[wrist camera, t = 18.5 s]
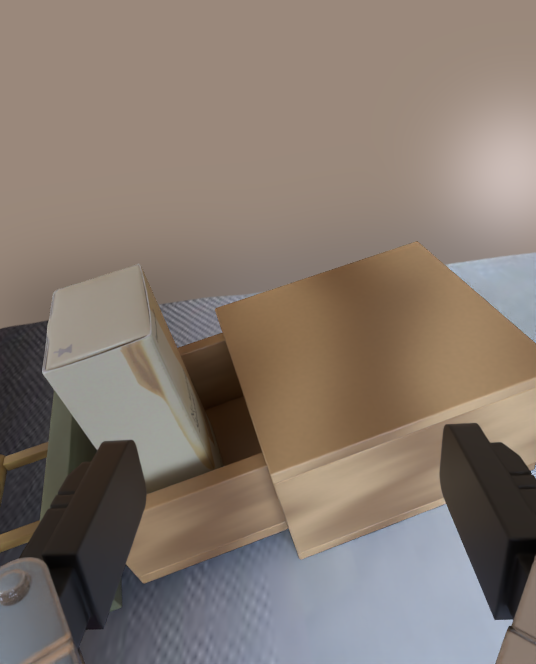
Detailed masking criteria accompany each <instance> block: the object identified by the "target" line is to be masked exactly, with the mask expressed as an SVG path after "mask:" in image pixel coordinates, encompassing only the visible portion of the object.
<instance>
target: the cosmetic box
mask: <svg viewBox="0 0 536 664" xmlns="http://www.w3.org/2000/svg"><path fill="white" fill-rule="evenodd" d="M42 373H43V375H44V376H45V377H46V379H47V380H48V381H49V383H50V384H51V386H52V387H53V389H54V390H55V392H56V393H57V394H58V396H59V397H60V399H61V400H62V401H63V403H64V404H65V406H66V407H67V408H68V410H69V411H70V413H71V414H72V416H73V417H74V418H75V420H76V421H77V423H78V424H79V425H80V427H81V428H82V430H83V431H84V433H85V434H86V435H87V437H88V438H89V440H90V441H91V442H92V444H93V445H94V447H95V448H96V449H97V450H98V448H99V447H100V445H101V443H102V442H104V441H115V440H133V441H134V442H135V444H136V447H137V451H138V455H139V459H140V463H141V467H142V471H143V475H144V479H145V483H146V492H147V494H149V493H152V492H155V491H158V490H160V489H163V488H166V487H169V486H171V485H174V484H177V483H180V482H182V481H185V480H188V479H191V478H193V477H196V476H199V475H202V474H204V473H207V472H210V471H213V470H215V469H218V468H221V467H224V466H223V462H222V458H221V455H220V451H219V448H218V445H217V442H216V438H215V435H214V432H213V429H212V426H211V423H210V421H209V419H208V417H207V414H206V412H205V410H204V407H203V405H202V403H201V401H200V398H199V396H198V394H197V392H196V390H195V388H194V385H193V383H192V381H191V378H190V376H189V374H188V372H187V369H186V367H185V365H184V363H183V360H182V358H181V356H180V354H179V351H178V349H177V347H176V344H175V342H174V340H173V338H172V335H171V333H170V331H169V328H168V326H167V324H166V322H165V319H164V317H163V315H162V313H161V310H160V308H159V306H158V304H157V301H156V299H155V297H154V295H153V292H152V290H151V287H150V285H149V283H148V281H147V278H146V276H145V274H144V272H143V269H142V267H141V265H140V264H137V265H133V266H131V267H128V268H125V269H121V270H118V271H116V272H112V273H109V274H106V275H102V276H99V277H97V278H93V279H90V280H87V281H84V282H80V283H77V284H74V285H71V286H68V287H64V288H61V289H58V290H56V291H55V292H54V293H53V297H52V304H51V310H50V318H49V322H48V326H47V340H46V347H45V356H44V362H43V369H42Z"/></svg>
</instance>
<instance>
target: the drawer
mask: <svg viewBox="0 0 536 664" xmlns="http://www.w3.org/2000/svg"><path fill="white" fill-rule="evenodd" d="M177 349H178V351H179V354H180V356H181V358H182V360H183V363H184V365H185V367H186V369H187V372H188V374H189V376H190V378H191V381H192V383H193V385H194V388H195V390H196V392H197V394H198V396H199V398H200V401H201V403H202V405H203V407H204V410H205V412H206V414H207V417H208V419H209V421H210V423H211V426H212V429H213V432H214V435H215V438H216V442H217V445H218V448H219V451H220V455H221V458H222V462H223V466H224V467H221V468H218V469H215V470H213V471H210V472H207V473H204V474H202V475H199V476H196V477H193V478H191V479H188V480H185V481H182V482H180V483H177V484H174V485H171V486H169V487H166V488H163V489H160V490H158V491H155V492H152V493H149V494H147V495H146V505H145V509H144V512H143V515H142V518H141V521H140V524H139V527H138V530H137V533H136V535H135V538H134V541H133V544H132V547H131V550H130V553H129V556H128V559H127V562H126V565H127V566H128V567H129V568H130V569H131V570H132V572H133V573H134V574H135V575H136V576H137V577H138V578H139V579H140V580H141V582H142V583H147V582H150V581H152V580H155V579H158V578H160V577H163V576H166V575H168V574H171V573H173V572H176V571H179V570H181V569H184V568H187V567H189V566H192V565H195V564H197V563H200V562H202V561H205V560H208V559H210V558H213V557H216V556H218V555H221V554H223V553H226V552H229V551H231V550H234V549H237V548H239V547H242V546H245V545H247V544H250V543H252V542H255V541H258V540H260V539H263V538H266V537H268V536H271V535H273V534H276V533H279V532H281V531H284V530H287V529H289V528H288V525H287V522H286V519H285V516H284V513H283V510H282V508H281V505H280V502H279V499H278V496H277V493H276V491H275V488H274V485H273V482H272V479H271V476H270V473H269V470H268V467H267V464H266V461H265V458H264V455H263V452H262V449H261V446H260V443H259V440H258V437H257V434H256V431H255V428H254V425H253V422H252V419H251V416H250V413H249V410H248V407H247V404H246V401H245V398H244V395H243V392H242V389H241V386H240V383H239V380H238V377H237V374H236V371H235V368H234V366H233V363H232V360H231V357H230V354H229V351H228V348H227V345H226V342H225V339H224V336H223V333H220V334H217V335H214V336H211V337H208V338H205V339H202V340H199V341H197V342H194V343H191V344H188V345H185V346H182V347H179V348H177ZM96 452H97V449H96V448H95V447H94V445H93V444H92V442H91V441H90V440H89V438H88V437H87V435H86V434H85V433H84V431H83V430H82V428H81V427H80V425H79V424H78V423H77V421H76V420H75V418H74V417H73V416H72V414H71V413H70V411H69V410H68V408H67V407H66V406H65V404H64V403H63V401H62V400H61V399H60V397H59V396H58V394H57V393H56V392H55V390H54V396H53V406H52V415H51V424H50V433H49V442H46V443H43V444H40V445H38V446H35V447H32V448H29V449H26V450H23V451H20V452H17V453H14V454H12V455H9V456H4V455H1V454H0V507H1V501H2V496H3V491H4V485H5V480H6V474H7V470H12V469H15V468H18V467H21V466H24V465H26V464H29V463H32V462H35V461H38V460H41V459H44V458H46V457H47V460H46V469H45V478H44V487H43V496H42V506H41V515H40V520H39V521H37V522H34V523H31V524H28V525H26V526H23V527H20V528H17V529H14V530H12V531H9V532H6V533H3V534H1V535H0V552H2V551H5V550H8V549H11V548H13V547H16V546H19V545H22V544H24V543H27V542H29V540H30V538H31V537H32V535H33V533H34V532H35V530H36V528H37V527H38V525H39V523H40V521H41V520H42V518H43V516H44V515H45V513H46V511H47V509H50V504H51V503H52V501H53V499H54V498H55V496H56V495H58V491H59V489H60V487H61V486H62V484H63V482H64V480H65V479H66V477H67V476H68V475H69V474H70V473H71V472H72V471H73V470H74V469H75V468H77V467H78V466H79V465H80V464H81V463H82V462H88V461H92V460H93V458H94V456H95V454H96ZM121 607H122V592H121V579H120V582H119V585H118V588H117V591H116V594H115V597H114V600H113V602H112V605H111V608H110V611H109V612H111V611H114V610H116V609H119V608H121Z"/></svg>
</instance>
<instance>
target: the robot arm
mask: <svg viewBox="0 0 536 664" xmlns="http://www.w3.org/2000/svg"><path fill="white" fill-rule="evenodd" d="M439 477H440V486H441V490H442V494H443V497H444V500H445V502H446V504H447V507H448V509H449V512H450V514H451V516H452V519H453V521H454V524H455V526H456V528H457V531H458V533H459V535H460V538H461V540H462V543H463V545H464V547H465V550H466V552H467V555H468V557H469V559H470V562H471V564H472V567H473V569H474V571H475V574H476V576H477V579H478V581H479V583H480V586H481V588H482V590H483V593H484V595H485V598H486V600H487V602H488V605H489V607H490V610H491V612H492V614H493V617H494V619H495V620H506V619H513V623H512V626H509V627H508V630H507V632H506V635H505V637H504V640H503V643H502V646H501V649H500V652H499V655H498V657H497V660H496V663H495V664H536V478H535V477H534V475H531V471H530V470H529V468H528V467H527V465H526V464H525V462H524V461H523V460H522V458H521V457H520V455H518V454H517V453H516V452H514V451H513V450H512V449H510V448H509V447H507V446H506V445H505V444H503V443H502V442H494V443H490V442H489V440H488V438H487V437H486V435H485V434H484V432H483V431H482V429H481V427H480V426H479V425H478V424H477V423H461V424H446V425H445V426H444V429H443V437H442V448H441V459H440V471H439ZM146 495H147V492H146V483H145V479H144V475H143V471H142V467H141V463H140V459H139V455H138V451H137V447H136V444H135V442H134V441H133V440H115V441H104V442H102V443H101V445H100V447H99V448H98V450H97V452H96V454H95V456H94V458H93V460H92V461H88V462H82V463H81V464H80V465H79V466H78V467H77V468H75V469H74V470H73V471H72V472H71V473H70V474H69V475H68V476H67V477H66V479H65V480H64V482H63V484H62V486H61V487H60V489H59V491H58V495H56V496H55V498H54V499H53V501H52V503H51V504H50V509H47V511H46V513H45V515H44V516H43V518H42V520H41V521H40V523H39V525H38V527H37V528H36V530H35V532H34V533H33V535H32V537H31V538H30V540H29V542H28V544H27V545H26V547H25V549H24V550H23V552H22V554H21V556H20V557H19V559H17V560H14V561H11V562H9V563H6V564H5V565H3V566H1V567H0V664H85V661H84V658H83V655H82V652H81V650H80V647H79V645H80V642H81V640H82V637H83V634H84V632H85V630H87V629H104V626H105V623H106V620H107V617H108V614H109V611H110V608H111V605H112V602H113V600H114V597H115V594H116V591H117V588H118V585H119V582H120V579H121V576H122V573H123V570H124V567H125V565H126V562H127V559H128V556H129V553H130V550H131V547H132V544H133V541H134V538H135V535H136V533H137V530H138V527H139V524H140V521H141V518H142V515H143V512H144V509H145V505H146Z"/></svg>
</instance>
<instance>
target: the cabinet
mask: <svg viewBox="0 0 536 664" xmlns="http://www.w3.org/2000/svg"><path fill="white" fill-rule="evenodd" d="M215 312H216V315H217V318H218V321H219V324H220V327H221V330H222V333H223V336H224V339H225V342H226V345H227V348H228V351H229V354H230V357H231V360H232V363H233V366H234V368H235V371H236V374H237V377H238V380H239V383H240V386H241V389H242V392H243V395H244V398H245V401H246V404H247V407H248V410H249V413H250V416H251V419H252V422H253V425H254V428H255V431H256V434H257V437H258V440H259V443H260V446H261V449H262V452H263V455H264V458H265V461H266V464H267V467H268V470H269V473H270V476H271V479H272V482H273V485H274V488H275V491H276V493H277V496H278V499H279V502H280V505H281V508H282V510H283V513H284V516H285V519H286V522H287V525H288V528H289V530H290V533H291V536H292V539H293V542H294V545H295V548H296V550H297V553H298V556H299V559H300V560H301V559H304V558H307V557H309V556H312V555H314V554H317V553H320V552H322V551H325V550H327V549H330V548H333V547H335V546H338V545H340V544H343V543H345V542H348V541H351V540H353V539H356V538H358V537H361V536H364V535H366V534H369V533H371V532H374V531H376V530H379V529H382V528H384V527H387V526H389V525H392V524H395V523H397V522H400V521H402V520H405V519H407V518H410V517H413V516H415V515H418V514H420V513H423V512H426V511H428V510H431V509H433V508H436V507H438V506H441V505H444V504H446V502H445V500H444V497H443V494H442V490H441V486H440V477H439V471H440V459H441V448H442V437H443V429H444V426H445V425H446V424H461V423H477V424H478V425H479V426H480V427H481V429H482V431H483V432H484V434H485V435H486V437H487V438H488V440H489V442H490V443H494V442H502V443H503V444H505V445H506V446H507V447H509V448H510V449H512V450H513V451H514V452H516V453H517V454H518V455H520V457H521V458H522V460H523V461H524V462H525V464H526V465H527V467H528V468H529V470H530V471H531V470H534V468H535V464H536V343H535V342H533V341H532V340H531V339H530V338H529V337H528V336H526V335H525V334H524V333H523V332H522V331H521V330H520V329H518V328H517V327H516V326H515V325H514V324H513V323H511V322H510V321H509V320H508V319H507V318H506V317H504V316H503V315H502V314H501V313H500V312H499V311H498V310H496V309H495V308H494V307H493V306H492V305H491V304H489V303H488V302H487V301H486V300H485V299H484V298H482V297H481V296H480V295H479V294H478V293H477V292H476V291H474V290H473V289H472V288H471V287H470V286H469V285H467V284H466V283H465V282H464V281H463V280H462V279H460V278H459V277H458V276H457V275H456V274H455V273H454V272H452V271H451V270H450V269H449V268H448V267H447V266H445V265H444V264H443V263H442V262H441V261H440V260H438V259H437V258H436V257H435V256H434V255H433V254H432V253H430V252H429V251H428V250H427V249H426V248H425V247H423V246H422V245H421V244H420V243H419V242H418V241H416V242H413V243H410V244H407V245H404V246H401V247H398V248H395V249H392V250H389V251H386V252H383V253H380V254H377V255H374V256H371V257H368V258H365V259H362V260H359V261H356V262H353V263H350V264H347V265H344V266H341V267H338V268H335V269H332V270H329V271H326V272H323V273H320V274H317V275H314V276H311V277H308V278H305V279H302V280H299V281H296V282H293V283H290V284H287V285H284V286H281V287H278V288H275V289H272V290H269V291H266V292H263V293H260V294H257V295H254V296H251V297H248V298H245V299H242V300H239V301H236V302H233V303H230V304H227V305H224V306H221V307H218V308H216V309H215Z"/></svg>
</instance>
